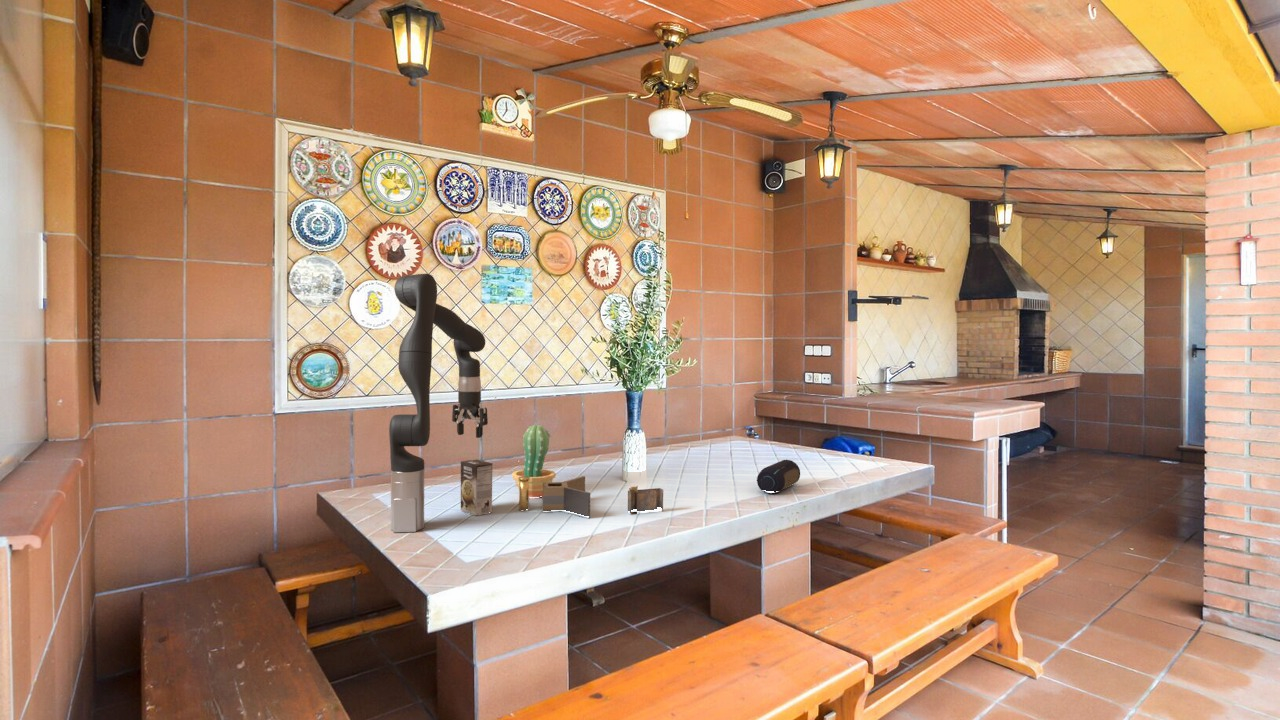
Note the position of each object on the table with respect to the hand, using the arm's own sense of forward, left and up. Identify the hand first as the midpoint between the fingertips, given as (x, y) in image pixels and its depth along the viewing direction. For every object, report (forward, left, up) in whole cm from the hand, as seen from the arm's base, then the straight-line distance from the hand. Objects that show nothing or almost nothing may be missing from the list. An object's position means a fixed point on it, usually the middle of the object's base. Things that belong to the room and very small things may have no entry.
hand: (469, 436), depth 227 cm
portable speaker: (+4, -113, -22) cm, 116 cm away
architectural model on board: (-24, -58, -22) cm, 66 cm away
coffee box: (-18, -4, -22) cm, 28 cm away
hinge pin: (-17, -19, -22) cm, 33 cm away
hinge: (-17, -32, -22) cm, 42 cm away
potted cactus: (+2, -22, -22) cm, 31 cm away
